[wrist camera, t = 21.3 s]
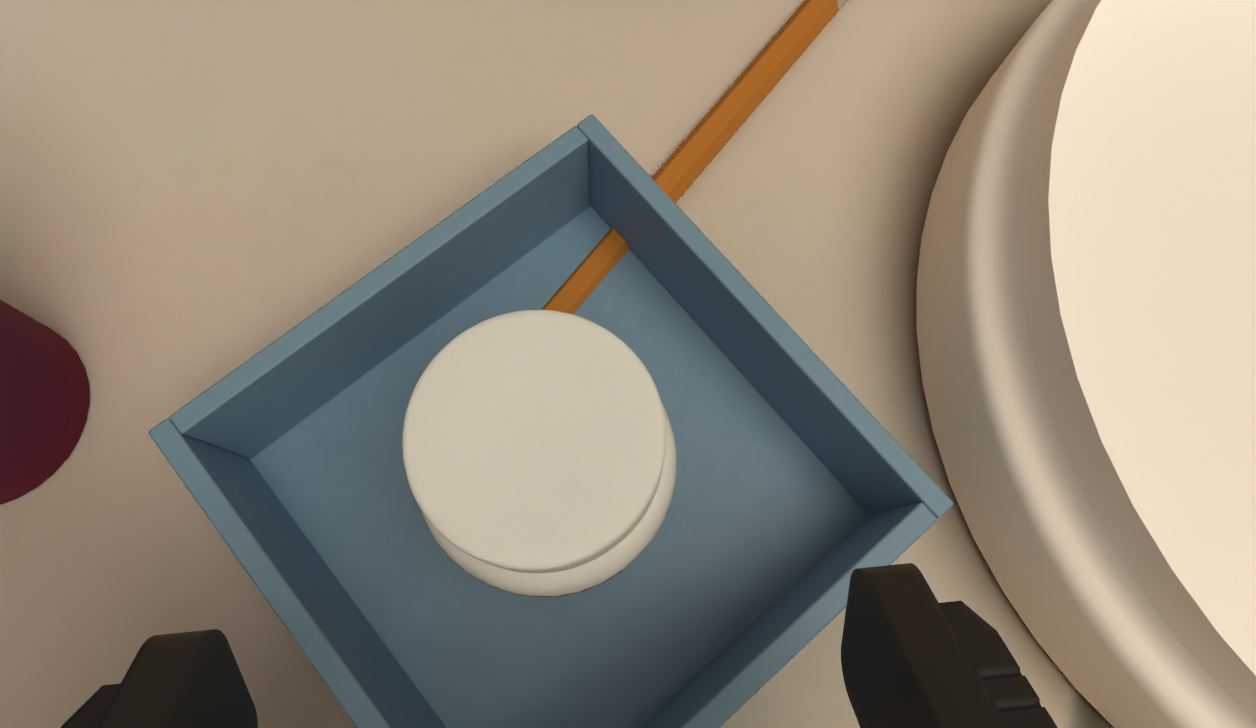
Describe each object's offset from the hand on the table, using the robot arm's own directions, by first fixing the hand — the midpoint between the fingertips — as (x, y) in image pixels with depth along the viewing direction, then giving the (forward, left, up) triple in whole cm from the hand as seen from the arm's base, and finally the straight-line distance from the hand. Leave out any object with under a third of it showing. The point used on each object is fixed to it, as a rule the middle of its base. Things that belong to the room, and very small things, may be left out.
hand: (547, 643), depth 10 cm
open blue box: (+2, +3, -10) cm, 10 cm away
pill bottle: (+2, +2, -9) cm, 10 cm away
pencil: (+10, +7, -10) cm, 16 cm away
